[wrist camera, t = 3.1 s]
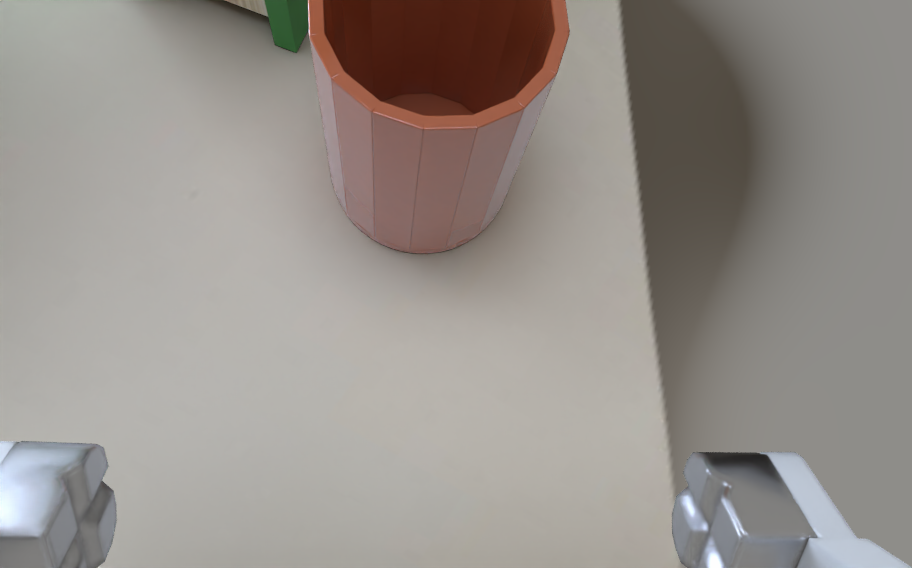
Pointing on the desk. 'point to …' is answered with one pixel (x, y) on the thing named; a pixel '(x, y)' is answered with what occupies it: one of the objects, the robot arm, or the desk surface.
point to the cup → (430, 108)
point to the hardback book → (282, 19)
